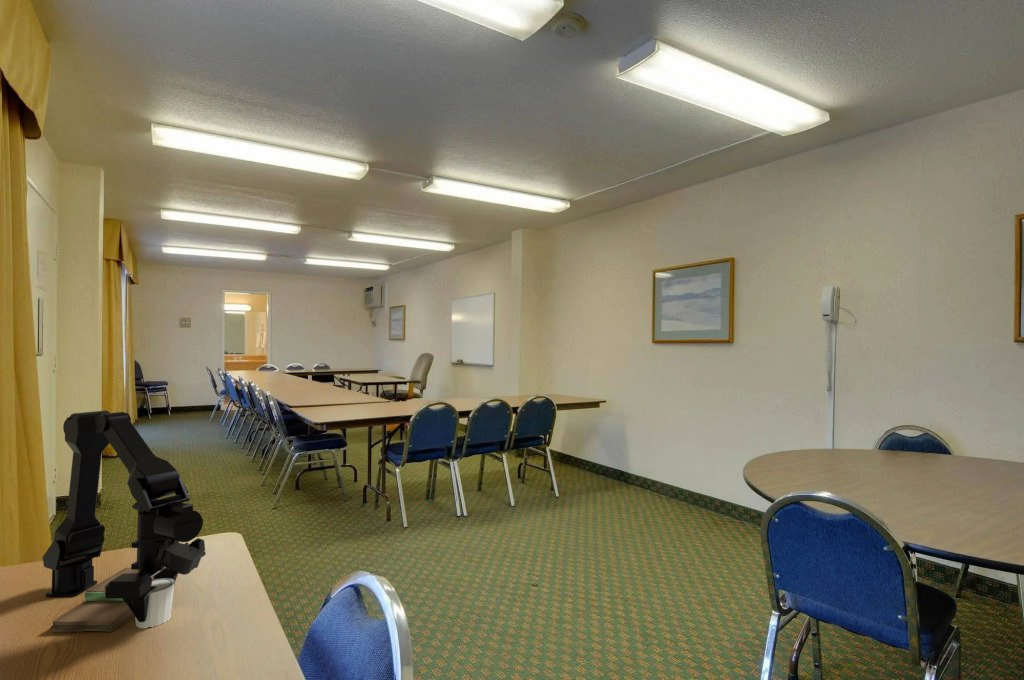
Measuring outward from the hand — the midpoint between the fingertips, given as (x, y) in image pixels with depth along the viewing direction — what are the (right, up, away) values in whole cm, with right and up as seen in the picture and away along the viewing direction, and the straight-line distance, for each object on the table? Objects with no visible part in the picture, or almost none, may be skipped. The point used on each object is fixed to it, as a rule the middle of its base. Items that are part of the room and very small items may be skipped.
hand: (153, 612), depth 102 cm
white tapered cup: (0, -2, 0) cm, 2 cm away
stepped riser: (-11, -2, +5) cm, 12 cm away
